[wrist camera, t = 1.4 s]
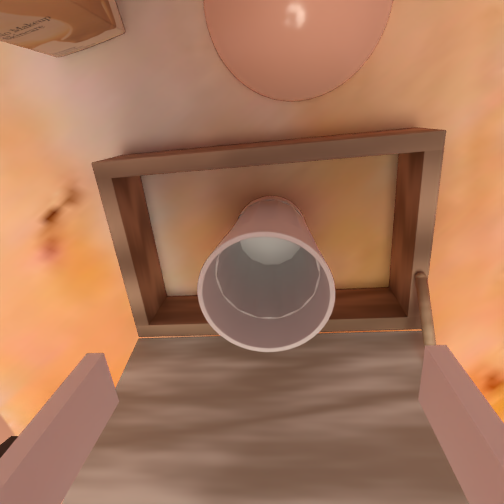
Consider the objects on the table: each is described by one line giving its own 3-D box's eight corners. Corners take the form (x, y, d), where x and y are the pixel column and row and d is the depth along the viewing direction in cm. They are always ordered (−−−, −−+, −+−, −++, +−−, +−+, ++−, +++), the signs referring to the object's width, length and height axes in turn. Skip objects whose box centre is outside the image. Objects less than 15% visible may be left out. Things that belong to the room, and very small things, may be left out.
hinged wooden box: (122, 155, 28) (-165, 226, 10) (416, 127, 26) (750, 157, 7) (164, 334, 36) (41, 567, 17) (398, 328, 33) (546, 595, 15)
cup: (267, 167, 28) (258, 201, 17) (333, 226, 29) (365, 294, 18) (210, 232, 31) (170, 299, 19) (274, 284, 32) (270, 373, 21)
